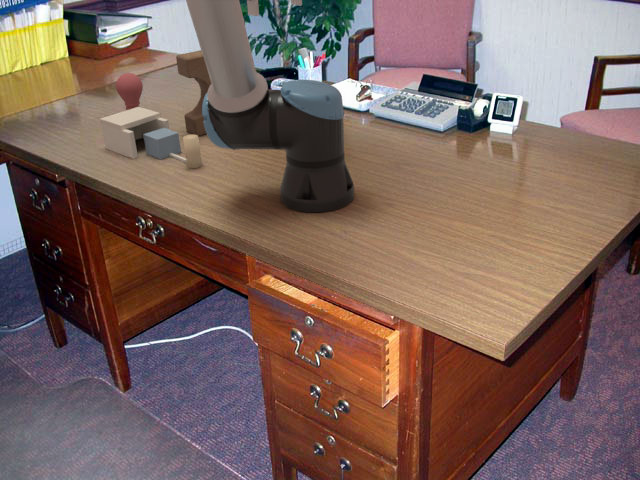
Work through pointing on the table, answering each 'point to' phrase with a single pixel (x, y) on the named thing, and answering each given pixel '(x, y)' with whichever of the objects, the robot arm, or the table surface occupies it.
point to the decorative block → (196, 68)
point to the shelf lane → (130, 129)
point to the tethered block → (173, 146)
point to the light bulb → (129, 89)
